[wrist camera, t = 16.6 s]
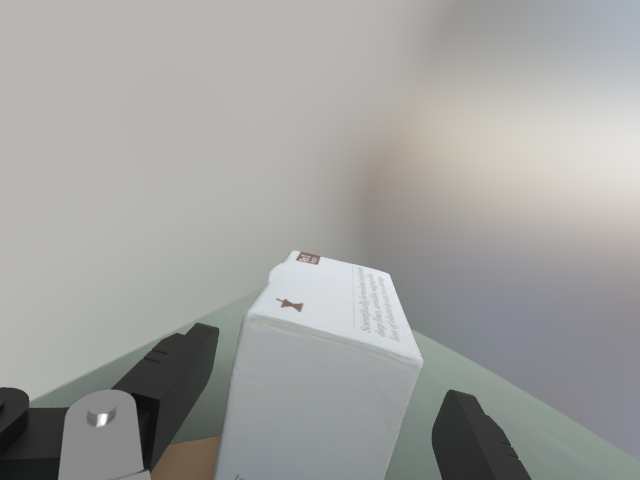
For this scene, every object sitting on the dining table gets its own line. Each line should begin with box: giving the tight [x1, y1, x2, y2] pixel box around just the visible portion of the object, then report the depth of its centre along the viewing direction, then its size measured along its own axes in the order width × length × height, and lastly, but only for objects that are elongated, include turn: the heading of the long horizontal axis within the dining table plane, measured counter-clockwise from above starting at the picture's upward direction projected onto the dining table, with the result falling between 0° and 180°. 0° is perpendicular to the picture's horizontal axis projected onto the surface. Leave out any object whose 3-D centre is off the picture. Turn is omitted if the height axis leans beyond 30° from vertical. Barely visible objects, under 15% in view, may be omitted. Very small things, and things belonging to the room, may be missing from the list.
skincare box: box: [213, 251, 423, 480], centre depth 11 cm, size 6×4×12 cm
